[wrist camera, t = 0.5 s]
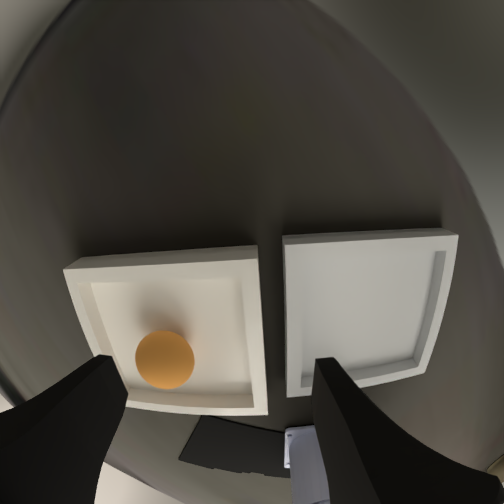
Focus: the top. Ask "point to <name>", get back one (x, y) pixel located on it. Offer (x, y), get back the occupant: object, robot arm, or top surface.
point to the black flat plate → (236, 448)
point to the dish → (179, 323)
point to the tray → (364, 302)
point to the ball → (164, 359)
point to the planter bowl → (497, 468)
